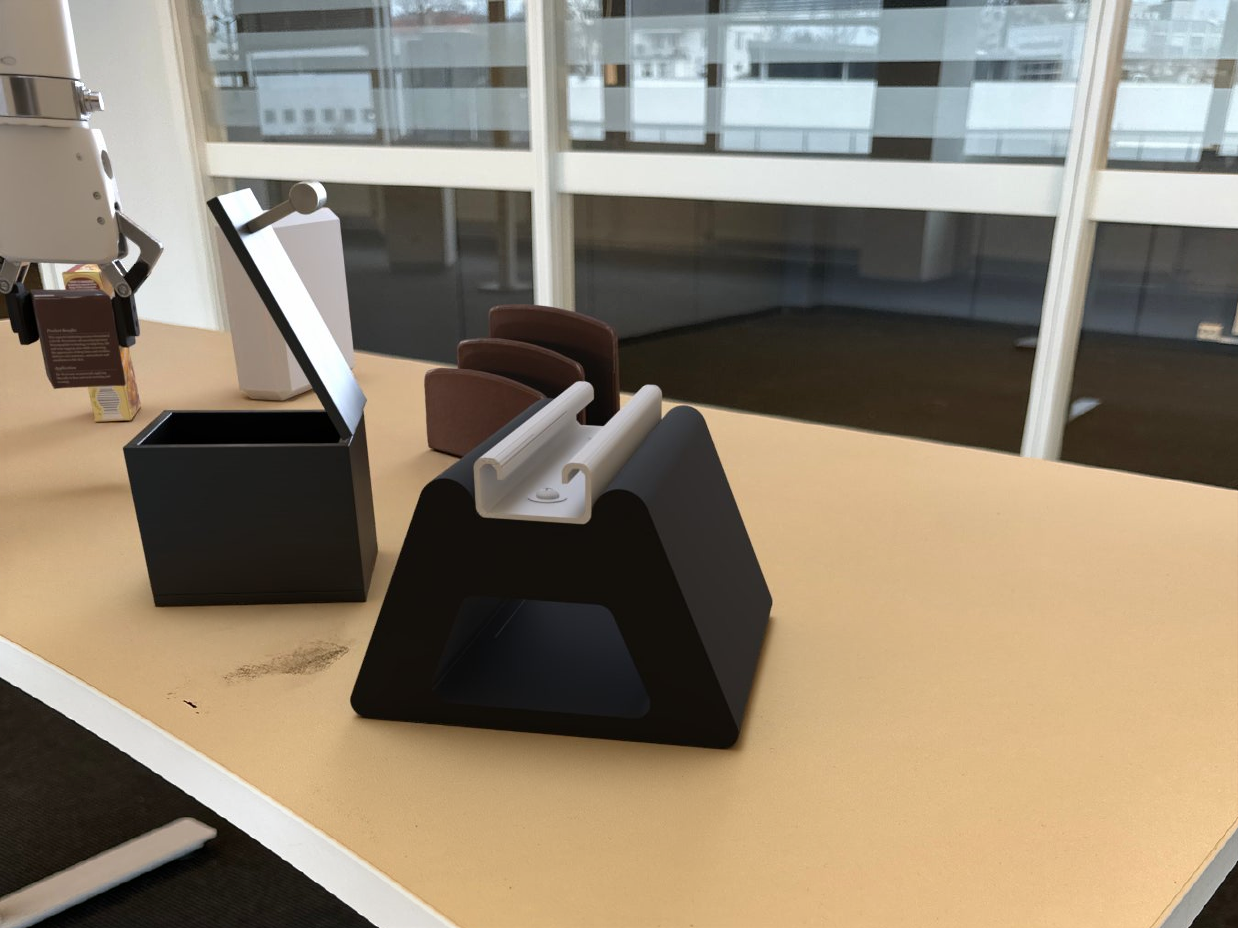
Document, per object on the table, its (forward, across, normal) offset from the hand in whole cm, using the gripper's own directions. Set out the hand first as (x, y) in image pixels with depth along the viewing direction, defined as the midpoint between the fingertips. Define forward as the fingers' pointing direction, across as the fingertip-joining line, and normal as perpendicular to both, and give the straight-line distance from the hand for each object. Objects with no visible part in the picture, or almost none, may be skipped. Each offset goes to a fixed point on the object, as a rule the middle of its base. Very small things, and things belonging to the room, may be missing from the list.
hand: (79, 342), depth 107 cm
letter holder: (+12, -39, -10) cm, 42 cm away
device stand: (+12, -41, +46) cm, 63 cm away
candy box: (+12, +7, -35) cm, 37 cm away
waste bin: (+12, -19, +27) cm, 36 cm away
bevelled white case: (+11, -11, -53) cm, 55 cm away
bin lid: (-6, -22, +28) cm, 36 cm away
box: (+4, 0, 0) cm, 4 cm away
